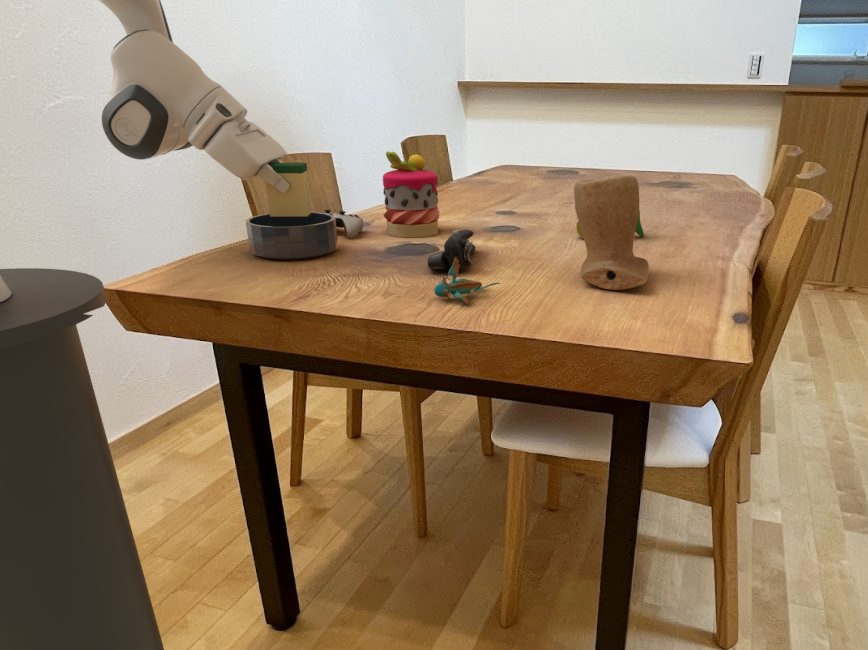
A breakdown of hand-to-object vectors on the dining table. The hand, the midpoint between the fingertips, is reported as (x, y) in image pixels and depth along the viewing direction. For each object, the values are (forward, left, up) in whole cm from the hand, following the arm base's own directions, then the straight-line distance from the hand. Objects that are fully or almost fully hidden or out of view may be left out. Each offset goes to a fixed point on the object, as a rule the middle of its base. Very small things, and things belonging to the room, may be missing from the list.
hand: (291, 187), depth 108 cm
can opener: (+23, -16, -11) cm, 30 cm away
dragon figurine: (+18, -35, -11) cm, 41 cm away
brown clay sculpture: (+41, -33, -11) cm, 54 cm away
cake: (+22, +10, -11) cm, 27 cm away
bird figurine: (+58, -5, -11) cm, 60 cm away
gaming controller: (+8, +13, -11) cm, 19 cm away
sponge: (-1, 0, -4) cm, 4 cm away
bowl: (-1, 0, -11) cm, 11 cm away
